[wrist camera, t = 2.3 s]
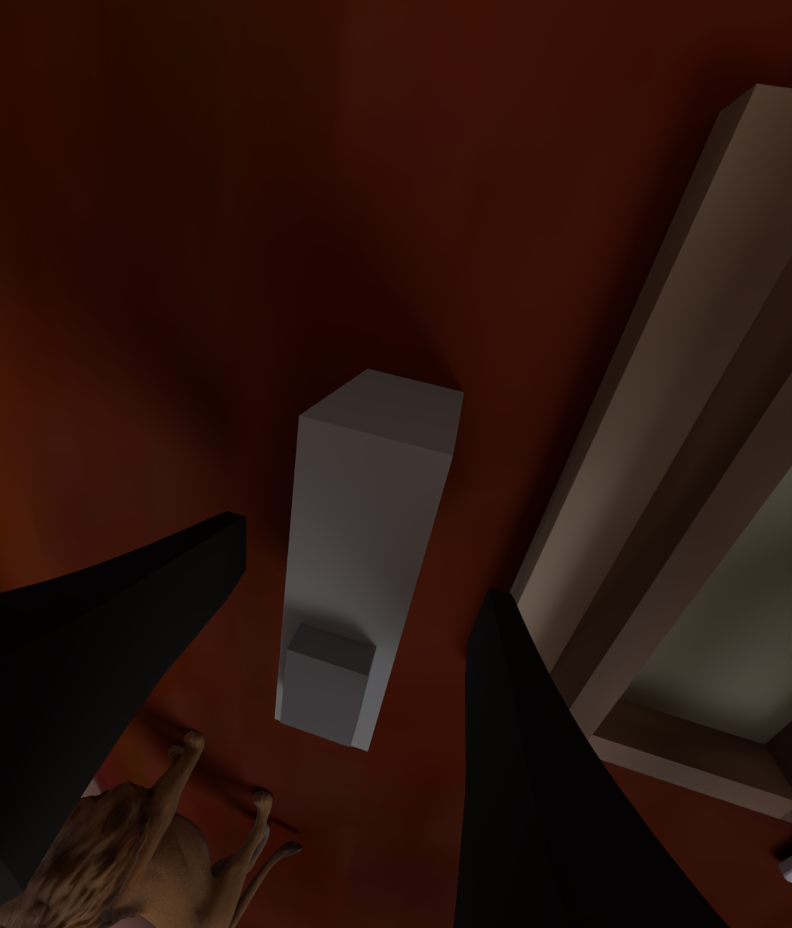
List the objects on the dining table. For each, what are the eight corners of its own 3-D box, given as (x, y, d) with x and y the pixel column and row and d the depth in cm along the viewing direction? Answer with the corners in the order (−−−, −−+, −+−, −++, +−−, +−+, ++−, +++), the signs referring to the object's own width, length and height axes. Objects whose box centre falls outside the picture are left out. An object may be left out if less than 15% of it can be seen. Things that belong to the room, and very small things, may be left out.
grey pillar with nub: (464, 391, 11) (449, 475, 6) (400, 621, 16) (360, 782, 11) (369, 367, 12) (279, 429, 6) (332, 600, 16) (261, 746, 11)
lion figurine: (116, 718, 24) (-64, 928, 16) (150, 691, 22) (-39, 919, 14) (284, 842, 27) (199, 1077, 19) (331, 829, 25) (257, 1090, 17)
